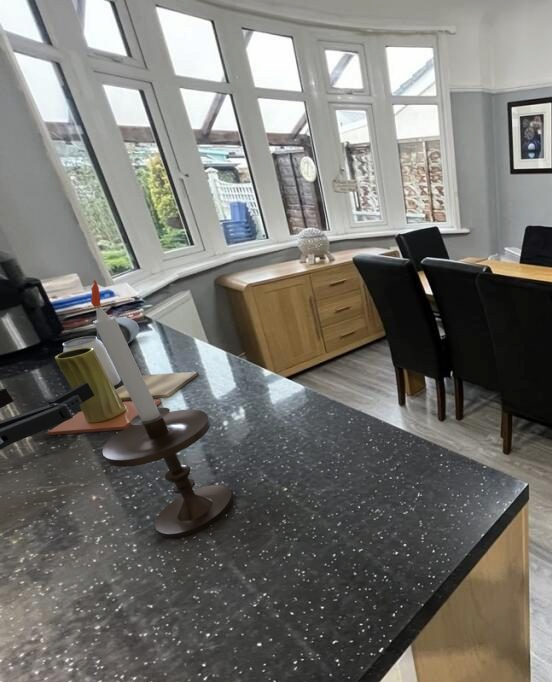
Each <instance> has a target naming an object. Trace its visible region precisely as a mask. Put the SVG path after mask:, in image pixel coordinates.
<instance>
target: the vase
mask: <svg viewBox="0 0 552 682" xmlns="http://www.w3.org/2000/svg"><path fill="white" fill-rule="evenodd" d="M54 360H55V362H56V364H57V366H58V367H59V369H60V371H61V372H62V374H63V376H64V378H65V379H66V381H67V383H68V384H69V387H70V390H72V389H73V388H75V387H77V386H79V385H81V384H82V383H88V384H89V386H90V388H91V390H92V392H93V393H94V395H95V396H93V397H91V398H90V399H88V400H86V401H85V402H83V403H81V404H80V405H78V406H79V408H80V410H81V411H82V412H83V414H84V416H85V419H86V421H87V422H90V423H97V422H102V421H106V420H109V419H112V418H114V417H117V416H119V415H120V414H122V413H123V412H124V411H125V410H126V406H125V405H124V404H123V402H124V401H122V400H121V398H120V397H119V395H118V393H117V392H116V388H115V386H114V387H113V385H112V383H111V381H110V380H109V378H108V376H107V374H106V372H105V370H104V369H103V367H102V365H101V363H100V361H99V359H98V357H97V355H96V353H95V351H94V350H93V348H89V347H86V348H78V349H73V350H69V351H66V352H63V351H62V352H61V353H59V354H57V355H55V356H54Z"/></svg>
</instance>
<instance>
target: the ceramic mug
mask: <svg viewBox="0 0 552 682" xmlns="http://www.w3.org/2000/svg"><path fill="white" fill-rule="evenodd" d="M115 319H116V321H117V323H118V325H119V327H120V330H121V332H122V334H123V336H124V338H125V340H126V342H127V344H128V345H129V344H130V343H132V341H133V340H134V339H135V338H136V337H137V336H138V335H139V333H140V326H139V324H138V323H137V322H136V321H135V320H133V319H132V318H129V317H115ZM96 337H97V339H98V340H100V341H101V342H102V343H103V341H102V339H101V337H100V335H99V333H98V331H97V330H96ZM103 345H104V343H103Z"/></svg>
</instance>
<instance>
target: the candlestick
mask: <svg viewBox="0 0 552 682" xmlns="http://www.w3.org/2000/svg"><path fill="white" fill-rule="evenodd" d="M90 290H91V296H90V300H91V301H90V302H91V303H90V304H91V305H92V306H93V307H95V313H96V319H95V320H93V321H92V323H93V325H94V327H95V330H96V332H97V331H98V333H99V335H100V337H101V339H102V341H103V343H104V344H103V345H104V347H105V349H106V351H107V353H108V355H109V357H110V359H111V361H112V363H113V365H114V367H115V369H116V371H117V373H118V375H119V377H120V379H121V382H122V383H123V385H124V386H125V388H126V390H127V392H128V394H129V396H130V398H131V400H130V401H132V402H133V404H134V406H135V408H136V410H137V412H138V414H139V415H137V416H135V417H134V418H133V419H132V420H131V421H130V423H131V424H132V425H131V426H129V427H128V428H126V429H124V430H120V431H119V432H118V433H117V434H115V435H114V436H112V437H111V438H110V439H109V440H108V441H107V442H106V443H105V444H104V446H103V447H102V451H101V452H102V454H103V457H104V459H105V460H106V462H107V464H109V465H111V466H114V467H119V468H128V467H136V466H141V465H146V464H151V463H154V462H157V461H160V460H163V461H164V462H165V464H166V467H167V468H168V470H167V472H165V474H164V479H165V480H166V481H167V482H170V483H172V484H174V486H173V488H172V490H173V492H174V494H180V496H178V497H177V498H175V499H174V500H172V501H171V502H170V503H169V504H167V505H166V506H165V507H164V508H163V509H162V510H161V511H160V512H159V514H158V515H157V517H156V519H155V521H154V527H155V529H156V531H157V533H158V535H159V536H161V537H162V538H164V539H171V540H172V539H181V538H185V537H188V536H192V535H195V534H197V533H199V532H202V531H203V530H206V529H207V528H209V527H210V526H213V524H215V523H216V522H217V521H219V520H220V519H222V517H223V516H224V515H226V513H227V512H228V511H229V509H230V508H231V507H232V504H233V502H234V497H233V494H232V490H231V489H230V488H229V487H227V486H225V485H221V484H212V485H211V484H210V485H206V486H202V487H198V488H195V489H193V488H194V486H195V485H196V481H195V480H194V479H193V478H189V476H190V474H191V467H190V466H189V465H187V464H181V461H180V460H179V458H178V455H177V454H178V453H179V452H181V451H184V450H185V449H187V448H189V447H191V446H192V445H194V444H195V443H197V442H198V441H199V440H201V439H202V438H203V437H204V436H205V435H206V433H207V432H208V431H209V430H210V429H211V420H210V417H209V415H208V414H207V413H206V412H205V411H203V410H200V409H188V408H187V409H179V410H172V411H171V410H170V409H171V408H168V407H158V405H157V406H156V404H155V402H154V400H155V399H154V398H152V396H151V394H150V391H149V389H148V387H147V385H146V383H145V381H144V379H143V376H142V372H141V370H140V368H139V366H138V364H137V362H136V359H135V358H134V355H133V353H132V351H131V349H130V346H129V344H127V342H126V340H125V338H124V336H123V334H122V332H121V330H120V327H119V325H118V323H117V321H116V317H115V316H109V314H108V313H107V312H106V311H104V309H103V308H102V307H101V305H102V303H101V294H100V288H99V286H98V282H97V280H96V279H93V285H92V287H91V289H90Z"/></svg>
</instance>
